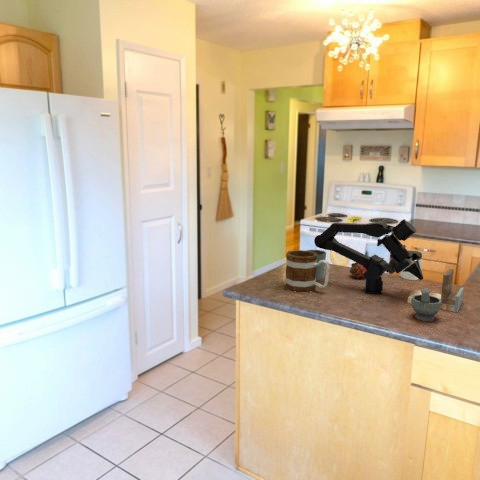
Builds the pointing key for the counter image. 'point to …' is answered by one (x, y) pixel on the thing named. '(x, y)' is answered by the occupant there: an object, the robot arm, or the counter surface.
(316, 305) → the counter surface
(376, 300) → the counter surface
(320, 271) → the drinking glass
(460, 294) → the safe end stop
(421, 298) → the mortar and pestle
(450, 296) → the bookend block
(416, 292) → the board
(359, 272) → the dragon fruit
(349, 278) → the counter surface
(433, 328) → the counter surface
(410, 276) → the jar
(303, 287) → the mug
